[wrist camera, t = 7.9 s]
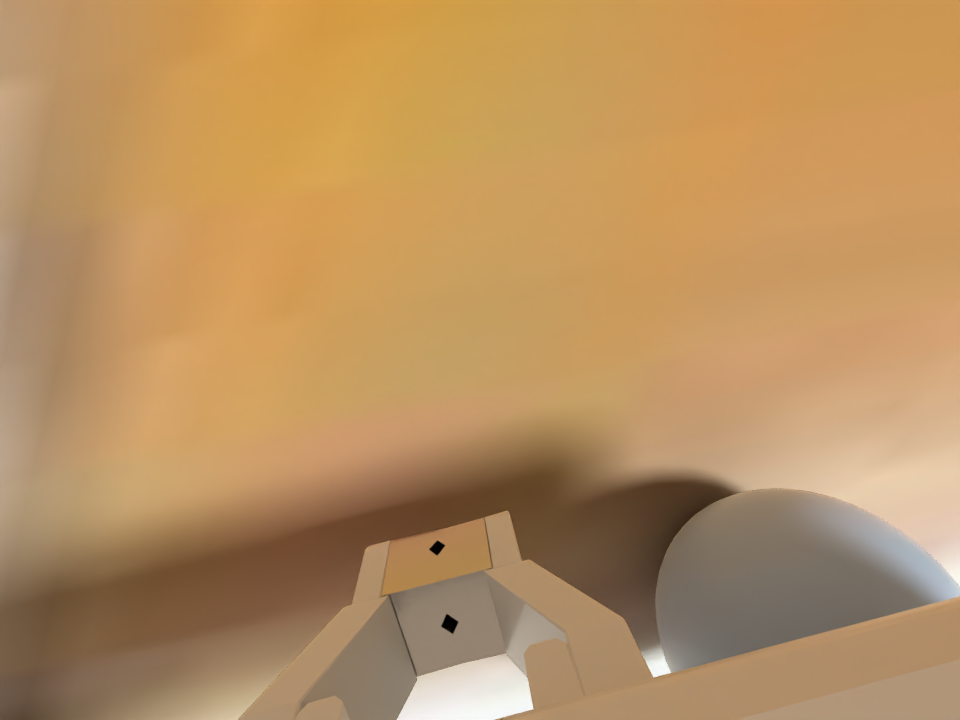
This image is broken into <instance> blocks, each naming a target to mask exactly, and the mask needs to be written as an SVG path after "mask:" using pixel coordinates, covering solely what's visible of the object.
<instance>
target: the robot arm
mask: <svg viewBox="0 0 960 720" xmlns="http://www.w3.org/2000/svg"><path fill="white" fill-rule="evenodd" d="M505 653H507V656H508V657H509V658H510V659H511V660H512V661H513V662H514V663H515V664H516V666H517V667H518V668H519V669H520V670H521V671H522V672H523V673H524V674H525V676H526V677H527V678H528V681H529V686H530V692H531V697H532V702H533V708H534V709H533V710H529V711H525V712H522V713H518V714H514V715H510V716H506V717H503V718H499V719H495V720H960V596H958V597H955V598H951V599H947V600H943V601H939V602H936V603H932V604H928V605H924V606H921V607H917V608H913V609H909V610H906V611H902V612H898V613H894V614H891V615H887V616H883V617H879V618H875V619H872V620H868V621H864V622H860V623H857V624H853V625H849V626H845V627H842V628H838V629H834V630H830V631H826V632H823V633H819V634H815V635H811V636H808V637H804V638H800V639H796V640H793V641H789V642H785V643H781V644H778V645H774V646H770V647H766V648H762V649H759V650H755V651H751V652H748V653H744V654H740V655H737V656H733V657H729V658H726V659H722V660H718V661H715V662H711V663H707V664H703V665H700V666H696V667H692V668H688V669H685V670H681V671H677V672H673V673H669V674H666V675H662V676H658V677H654V678H653V676H652V674H651V672H650V670H649V668H648V666H647V664H646V662H645V660H644V658H643V656H642V654H641V652H640V650H639V648H638V645H637V643H636V641H635V639H634V637H633V635H632V633H631V631H630V629H629V627H628V625H627V623H626V621H625V619H624V618H623V617H621V616H619V615H618V614H616V613H615V612H613V611H611V610H610V609H608V608H607V607H605V606H603V605H602V604H600V603H599V602H597V601H595V600H594V599H592V598H591V597H589V596H587V595H586V594H584V593H583V592H581V591H579V590H578V589H576V588H575V587H573V586H571V585H570V584H568V583H566V582H565V581H563V580H562V579H560V578H558V577H557V576H555V575H554V574H552V573H550V572H549V571H547V570H546V569H544V568H542V567H541V566H539V565H538V564H536V563H534V562H533V561H531V560H529V559H528V560H524V561H522V559H521V555H520V551H519V547H518V543H517V540H516V536H515V532H514V528H513V524H512V520H511V516H510V513H509V511H508V510H506V511H503V512H500V513H496V514H493V515H489V516H486V517H485V518H480V519H476V520H473V521H469V522H466V523H462V524H458V525H455V526H451V527H448V528H444V529H440V530H439V529H437V530H433V531H429V532H424V533H420V534H416V535H411V536H407V537H403V538H398V539H394V540H392V541H390V540H389V541H385V542H382V543H378V544H374V545H370V546H368V547H367V548H366V549H365V551H364V555H363V559H362V563H361V567H360V571H359V576H358V580H357V584H356V588H355V592H354V596H353V600H352V604H351V605H349V606H345V607H343V608H342V609H341V610H340V611H339V613H338V614H337V615H336V616H335V617H334V618H333V619H332V620H331V621H330V622H329V623H328V624H327V625H326V626H325V627H324V628H323V630H322V631H321V632H320V633H319V634H318V635H317V636H316V637H315V638H314V639H313V640H312V641H311V642H310V643H309V644H308V645H307V647H306V648H305V649H304V650H303V651H302V652H301V653H300V654H299V655H298V656H297V657H296V658H295V659H294V660H293V661H292V662H291V664H290V665H289V666H288V667H287V668H286V669H285V670H284V671H283V672H282V673H281V674H280V675H279V676H278V677H277V678H276V679H275V681H274V682H273V683H272V684H271V685H270V686H269V687H268V688H267V689H266V690H265V691H264V692H263V693H262V694H261V695H260V697H259V698H258V699H257V700H256V701H255V702H254V703H253V704H252V705H251V706H250V707H249V708H248V709H247V710H246V711H245V712H244V714H243V715H242V716H241V717H240V718H239V720H396V719H397V718H398V716H399V714H400V712H401V710H402V708H403V706H404V704H405V702H406V700H407V698H408V696H409V695H410V693H411V691H412V689H413V687H414V685H415V683H416V681H417V676H421V675H424V674H427V673H431V672H434V671H438V670H441V669H444V668H448V667H451V666H455V665H458V664H461V663H466V662H470V661H475V660H479V659H483V658H488V657H492V656H496V655H501V654H505Z"/></svg>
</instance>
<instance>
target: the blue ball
mask: <svg viewBox="0 0 960 720" xmlns="http://www.w3.org/2000/svg"><path fill="white" fill-rule="evenodd" d="M958 596H960V586H959V585H958V584H957V583H956V581H955V580H954V579H953V578H952V577H951V576H950V575H949V573H948V572H947V571H946V570H945V569H944V568H943V566H942V565H941V564H940V563H939V562H938V561H937V560H935V559H934V558H933V557H932V556H931V555H930V554H929V553H928V552H927V551H926V550H925V549H924V548H923V547H922V546H920V545H919V544H918V543H916V542H915V541H914V540H912V539H911V538H910V537H908V536H907V535H906V534H905V533H903V532H902V531H901V530H899V529H897V528H896V527H894V526H893V525H891V524H889V523H888V522H886V521H884V520H883V519H881V518H880V517H878V516H876V515H874V514H871V513H869V512H867V511H865V510H863V509H861V508H859V507H857V506H855V505H853V504H850V503H847V502H844V501H841V500H839V499H836V498H833V497H829V496H825V495H821V494H817V493H813V492H808V491H801V490H792V489H760V490H752V491H746V492H742V493H738V494H734V495H731V496H729V497H726V498H723V499H721V500H718V501H716V502H714V503H712V504H710V505H709V506H707V507H706V508H704V509H703V510H701V511H699V512H698V513H697V514H695V515H694V516H693V517H692V518H691V519H690V520H689V521H688V522H687V523H686V524H684V526H683V527H682V528H681V529H680V531H679V532H678V533H677V535H676V536H675V537H674V538H673V540H672V542H671V544H670V546H669V547H668V549H667V551H666V553H665V556H664V559H663V562H662V564H661V567H660V571H659V575H658V580H657V585H656V599H655V607H656V622H657V627H658V633H659V639H660V642H661V646H662V649H663V652H664V656H665V659H666V662H667V664H668V666H669V669H670V671H671V673H673V672H677V671H681V670H685V669H688V668H692V667H696V666H700V665H703V664H707V663H711V662H715V661H718V660H722V659H726V658H729V657H733V656H737V655H740V654H744V653H748V652H751V651H755V650H759V649H762V648H766V647H770V646H774V645H778V644H781V643H785V642H789V641H793V640H796V639H800V638H804V637H808V636H811V635H815V634H819V633H823V632H826V631H830V630H834V629H838V628H842V627H845V626H849V625H853V624H857V623H860V622H864V621H868V620H872V619H875V618H879V617H883V616H887V615H891V614H894V613H898V612H902V611H906V610H909V609H913V608H917V607H921V606H924V605H928V604H932V603H936V602H939V601H943V600H947V599H951V598H955V597H958Z"/></svg>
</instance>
